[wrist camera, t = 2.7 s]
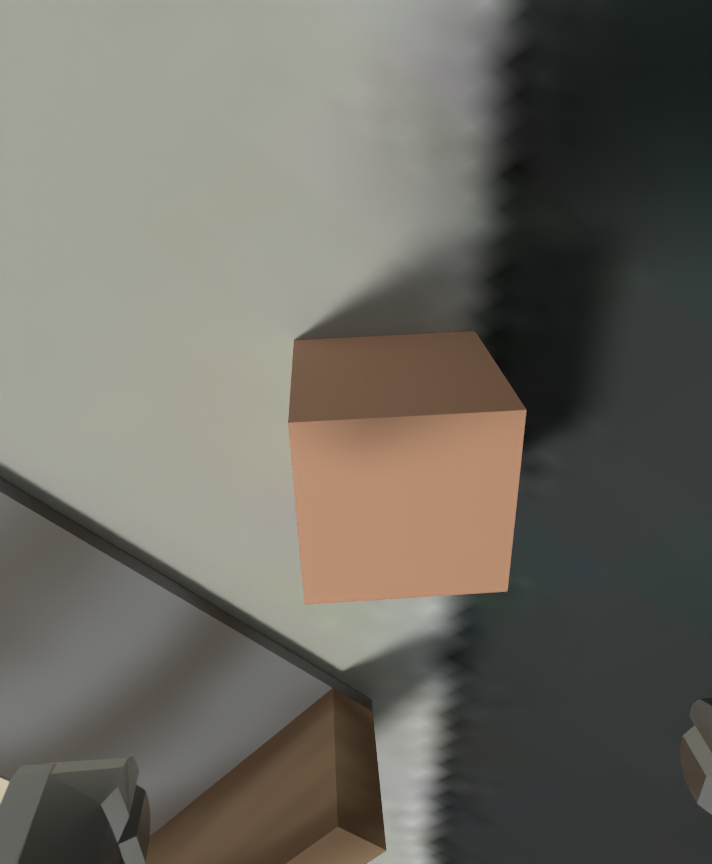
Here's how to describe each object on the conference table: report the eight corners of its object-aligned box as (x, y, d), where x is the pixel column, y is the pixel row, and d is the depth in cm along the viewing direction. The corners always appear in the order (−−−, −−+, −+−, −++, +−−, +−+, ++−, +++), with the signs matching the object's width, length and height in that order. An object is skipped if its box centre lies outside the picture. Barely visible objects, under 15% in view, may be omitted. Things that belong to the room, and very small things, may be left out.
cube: (474, 330, 18) (526, 410, 14) (465, 481, 20) (507, 591, 16) (294, 338, 18) (287, 422, 13) (306, 491, 20) (304, 604, 16)
